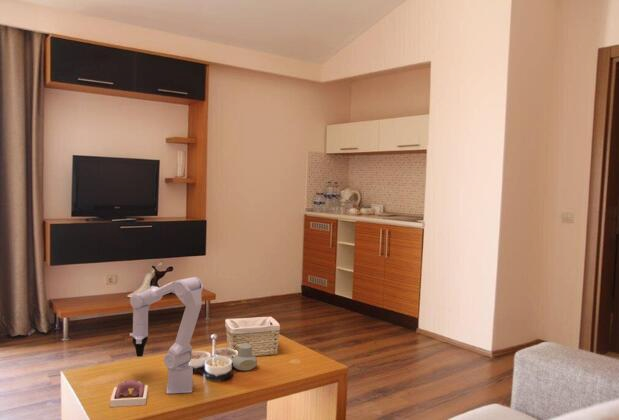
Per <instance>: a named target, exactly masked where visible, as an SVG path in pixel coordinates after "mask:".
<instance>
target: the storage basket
mask: <svg viewBox="0 0 619 420" xmlns="http://www.w3.org/2000/svg"><path fill="white" fill-rule="evenodd" d="M224 324H225V325H224V327H225V329H226V330H225V331H226V343H227V347H229V348H231V349H234V350H237V351H238V346H239V345H241V344H250V345H251V346H252V355H254V356H255V357H261V356H262V357H263V356H272V355H277V354H278V349H279V347H278V346H279V338H280V330H281V325H280V323H279V322H278V321H277V319H275V318H274V317H272V316H259V317H244V318H243V317H242V318H226V319H225V323H224ZM227 347H226V348H227Z"/></svg>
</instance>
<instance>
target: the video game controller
mask: <svg viewBox="0 0 619 420" xmlns="http://www.w3.org/2000/svg"><path fill="white" fill-rule="evenodd" d="M116 387H117V390H116V396H115V398H116V399H120V398H121V394H122V396H123V397H129V395H130V390H129V389H131V396H133V397H137V396H138V398H141V397H143V395H144V389H145V384H144V383H143V381H142V382H141V381H140V380H135V379H130V380H124V381H121V382H120V383H119V384H118V385H117V386H116ZM132 389H133V390H132Z"/></svg>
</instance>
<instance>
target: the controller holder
mask: <svg viewBox="0 0 619 420" xmlns="http://www.w3.org/2000/svg"><path fill="white" fill-rule="evenodd" d="M117 387H118V386H114V387H113V391H112V393H111V396H110V401H109V407H110V408H118V407H133V406H135V407H136V406H146V404H147V400H148V399H147V397H148V392H149V385H148V384H144V393H143V397H141V398H139V397H129V398H119V399H116V398H115V396H116V390H117Z"/></svg>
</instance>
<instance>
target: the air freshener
mask: <svg viewBox="0 0 619 420" xmlns="http://www.w3.org/2000/svg"><path fill="white" fill-rule="evenodd" d="M232 359H233V360H232ZM232 359H231V362H232V361H233V365H232V367H234V369H236V370H238V371H243V372H247V371H250V370H253V369H254V368H255V367H256V366H257V365H258V359H257V356H254V355H252V346H251V345H250V344H241V345H239V346H238V355H236V356H235V357H234V358H233V357H232Z"/></svg>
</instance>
